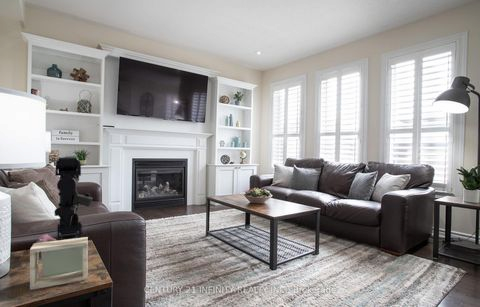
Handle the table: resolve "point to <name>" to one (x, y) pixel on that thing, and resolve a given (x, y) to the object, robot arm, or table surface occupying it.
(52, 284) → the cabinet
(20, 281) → the table surface
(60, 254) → the door
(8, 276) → the table surface
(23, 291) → the table surface
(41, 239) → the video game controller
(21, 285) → the table surface
